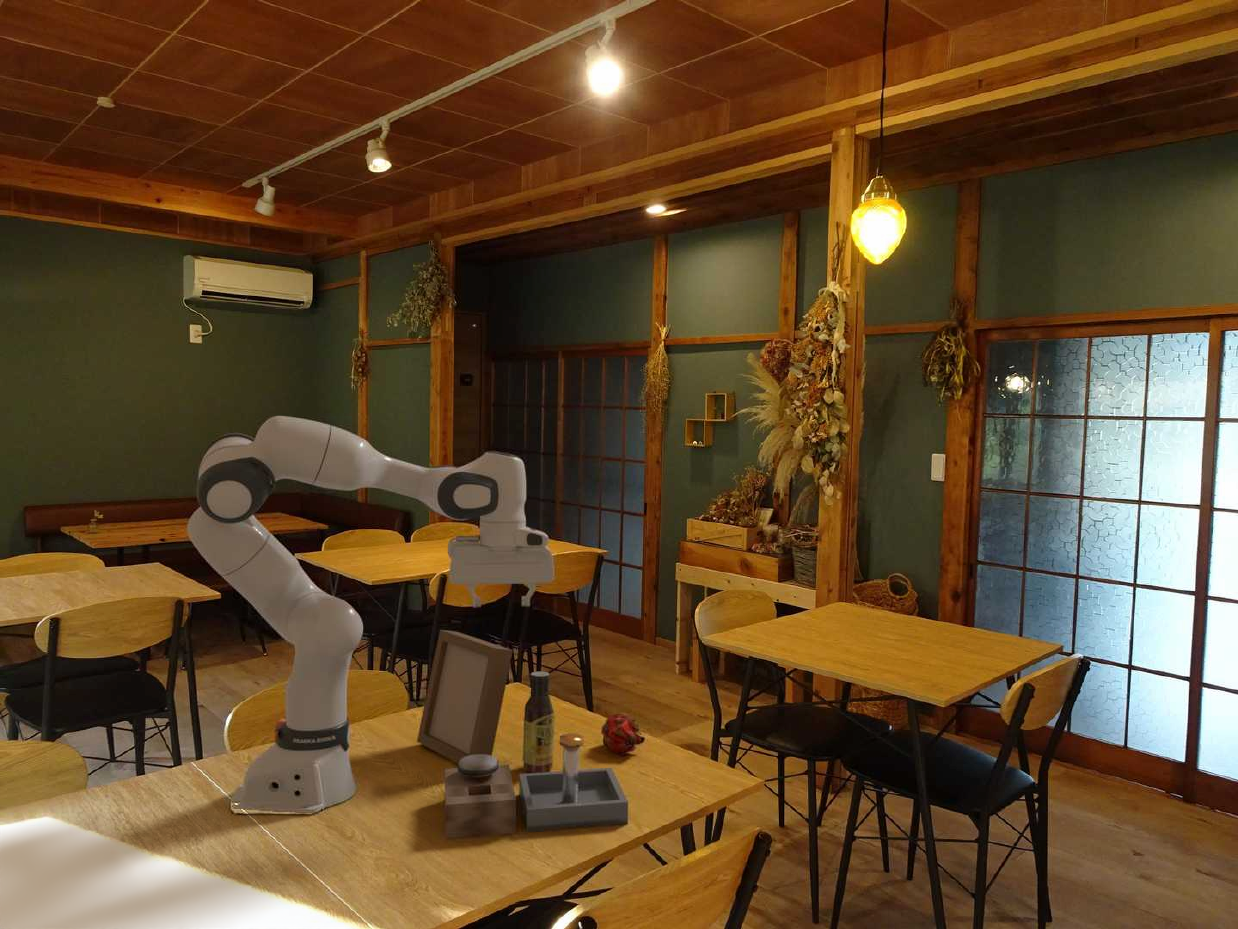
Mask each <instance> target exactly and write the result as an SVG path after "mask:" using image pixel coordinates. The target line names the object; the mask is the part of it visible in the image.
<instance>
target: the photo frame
mask: <svg viewBox="0 0 1238 929" xmlns="http://www.w3.org/2000/svg"><path fill="white" fill-rule="evenodd" d="M513 651H514V650H513V649H510V648H507V647H504V646H501V645H498V644H494V643H491V642H489V641H487V640H483V639H481V638H477V637H474V636H471V635H467V634H466V633H462V632H459V631H454V630H453V631H452V630H445V629H440V630H439V633H438V638H437V642H436V648H435V652H434V653H435V654H434V658H433V662H432V666H431V672H430V677H429V682H428V685H427V687H428V688H427V691H426V697H425V700H424V705H423V709H422V715H421V719H420V725H419V730H418V734H417V739H416V742H417V743H419V744H421V745H423V746H424V747H427V748H428V749H430V750H432V751H434V752H436V753H438V754H440V755H442V756H443V757H446V758H447V759H449V760H451V761H452V762H455V763H456V764H458V762H459V761H460V760H461V759H462V758H464V757H466V756H469V755H475V754H486V755H491V756H493V751H494V746H495V741H496V737H497V732H498V727H499V726H498V725H499V721H500V716H501V711H502V707H503V706H502V705H503V702H504V697H505V696H504V695H505V690H506V685H507V680H508V675H509V670H510V666H511V660H512V657H513Z"/></svg>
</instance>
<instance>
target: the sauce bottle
mask: <svg viewBox="0 0 1238 929" xmlns="http://www.w3.org/2000/svg"><path fill="white" fill-rule="evenodd" d="M529 678H530V679H529V681H530V696H529V698H528V700H527V701H526V703H525V706H524V718H523V740H522V741H523V743H522V744H523V745H522V746H523V747H522V761H523V766H522V767H523V770H524V771H526V772H527V773H542V772H550V770H552V768H553V763H554V743H555V740H554V739H555V738H554V736H555V712H554V708H553V704H552V701H551V698H550V681H551V675H550V673H549V672H547V671H533V672H531V673H530V676H529Z"/></svg>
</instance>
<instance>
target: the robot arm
mask: <svg viewBox="0 0 1238 929" xmlns="http://www.w3.org/2000/svg"><path fill="white" fill-rule="evenodd" d="M525 467H526V466H525V464H524V461H523V460H522V459H521V458H520V457H519V456H517V455H514V454H510V453H507V452H501V451H500V452H499V451H495V450H489V451H486V452H484V453H483V455H481V456H480V457H478V458H476V459H475V460H473V461H471V462H469V463H466V464H465V465H462V466H459V467H457V466H455V465H449V464H447V465H446V464H444V465H436V466H431V467H430V466H429V467H428V466H421V465H417V464H413V463H410V462H407V461H403V460H401V459H397V458H394V457H389V456H388V455H385V454H383V453H381V452H380V451H378V450H377V449H376V448H374V447H373V446H372V445H371V443H370V442H369V441H368V440H366V439H365V438H363V437H360V436H358V434H354V433H352V432H350V431H348V430H345V429H343V428H339V427H337V426H334V425H332V424H328V423H323V422H320V421H315V420H312V419H311V420H310V419H306V418H302V417H301V418H300V417H295V416H294V417H293V416H287V415H275V416H272V417H269V418H267V420H266V421H265V422H263V424H262V425H261V426H260V428H258V431H257V433H256V436H255V438H254V437H252V436H250V435H248V434H246V433H241V432H230V433H225V434H222V435H221V436H218V437H217V438H215V439H214V440H213V441H212V442H211V443H210V444H209V445H208V446H207V448H206V449H205V452H204V455H203V457H202V460H201V462H200V465H199V468H198V475H197V476H198V478H197V484H196V488H195V489H196V490H195V493H196V499H197V502H198V504H199V507H198V508H197V509H196V510H195V511H194V512H193V513H192V515H191V516H190V518H189V520H188V522H187V525H186V526H187V527H186V534H187V536H188V538H189V540H190V541H191V543H192V545H193V546H194V547H195V549H196V550H197V551H198V553H199V554H200V555H201V557H203V559H204V560H205V561H206V562H207V563H208V565H210V566H211V567H212V568H213V570H214V571H216V573H217V574H219V575H220V576H221V577H222V578H223V579H224V580H225V582H227V583H228V585H230V586H231V587H232V588H233V589H235V591H236V592H238V593H239V594H240V595H241V596H242V597H243V598H245V600H247V601H248V603H250V604H251V605H252V607H253V608H254V610H256V611H257V612H258V614H260V616H261V617H262V618H263V619H264V620H265V621H266V622H267V623H268V624H269V626H270V627H271V628H272V629H273V630H274V631H276V632H277V634H279V636H281V638H283V639H284V640H286V641H287V642H288V643H291V644H292V645H293V646H294V652H295V653H294V661H293V664H292V665H293V666H292V670H291V674H290V677H288V679H287V680H286V683H285V718H279V719H278V720H277V722H276V724H275V727H274V728H275V730H274V742H275V743H274V744H272V745H271V746H269V748H268V749H266V750H265V751H264V752H262V753H261V754H260V755H258V756H257V757H256V758H254V760H253V761H252V762H251V763H249V764H250V765H249V766H248V768H247V769H246V772H245V775H244V779H243V782H242V784H241V785H239V787H238V786H237V788H236V789H235V790H234V792H233V793H232V795H231V797H230V800H231V801H230V802H229V804H230V803H240V804H238V805H232V807H233V808H234V809H243V810H246V809H247V810H252V809H253V810H260V811H268V812H269V811H273V812H295V813H306V814H307V813H315V812H317V811H319V810H321V809H323V810H324V808H325V807H327V806H329V805H332V806H334V805H333V804H335V805H338V804H340V803H342V802H345V801H347V800H348V799H350V798H352V797H353V796H354V795H355V793H356V792H357V785H356V782H355V780H354V775H353V772H352V771H353V770H352V766H351V760H350V753H349V752H350V751H349V749H350V748H349V747H350V745H351V725H350V718H349V717H348V714H347V713H348V709H347V708H348V701H347V700H348V697H347V696H348V694H347V692H348V688H347V687H348V676H349V670H350V665H351V661H352V656H353V653H354V650H355V649H356V648H357V647H358V645H359V644H360V642H361V639H362V637H363V632H364V624H363V620H362V618H361V616H360V614H359V613H358V611H356V610H355V608H354V607H353V606H352V605H351V604H349V603H348V602H347V601H346V600H344V599H341V598H339V597H336V596H334V595H330V594H329V593H327V592H325V591H323V590H322V589H321V588H320V587H318V586H317V585H316V584H315V583H314V582H313V581H312V579H311V578H310V577H309V576H308V574H307V573H306V572H305V571H304V569H303V568H302V566H301V565H300V561H298V559H297V558H296V557H295V556H294V555H293V554H292V553H291V552H290V551H289V550H288V549H287V547H285V546H284V545H283V544H282V542H279V540H278V539H277V538H276V537H275V536H274V535H273V534H272V533H271V532H270V531H269V530H268V529H267V528H266V527H265V526H264V525H263V524H262V523H261V522H260V521H259V520H258V519H257V518H256V517H255V516H254V514H255V513H256V512H257V511H259V509H260V508H261V507H262V505H263V504H265V501H266V500H267V498H268V497H269V496H270V495H271V494H272V492H273V491H274V490H275V488H276V485H277V484H276V482H277V481H279V480H284V479H285V480H286V479H287V480H294V481H298V482H301V483H305V484H309V485H312V486H316V487H319V488H323V489H330V490H338V491H351V492H352V491H355V490H358V489H363V488H365V489H366V488H375V489H380V490H384V491H388V492H393V493H396V494H399V495H402V496H406V497H410V498H412V499H414V500H417V501H418V502H420V503H421V504H422V505H423V506H425V507H426V508H427V509H428V510H430V511H431V512H432V513H434V514H435V515H439V516H444V517H447V518H448V519H449V518H450V519H451V520H455V521H466V520H469V519H474V518H478V517H479V535H460V534H459V535H455V537H453V538H451V539H450V540H449V541H448V543H447V554H448V557H449V559H450V563H449V572H448V574H449V576H448V580H449V582H451V584H453V585H467V587H466V588H467V591H468V593H469V595H470V597H471V598H472V608H481V607H482V605H481V604H482V603H481V602H482V597H481V596H477V595H476V593H475V592H474V591H475V590H476V585H495V584H496V585H498V584H499V585H500V584H501V585H506V584H507V585H509V584H516V585H517V584H518V585H519V584H521V585H522V584H527V588H528V592H526V595H522V596H521V607H530V606H531V598H532V596H533V595H534V593H535V591H536V589H537V584H551V583H553V581H554V579H555V564H554V557H553V553H552V551H551V550H550V548H549V547H548V544H549V536H548V534H546V532H544V531H541V530H537V529H536V528H533V527H529V526H527V518H526V514H525V503H526V501H527V475H526V468H525ZM337 803H338V804H337ZM249 807H250V808H249ZM329 807H330V806H329ZM327 808H328V807H327ZM325 809H326V808H325ZM315 814H316V813H315Z"/></svg>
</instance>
